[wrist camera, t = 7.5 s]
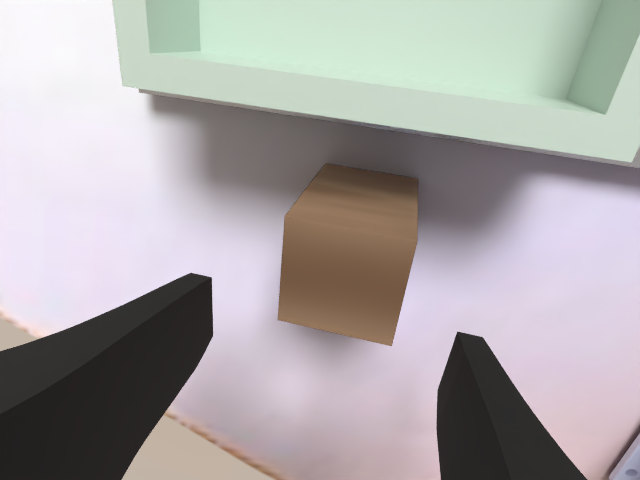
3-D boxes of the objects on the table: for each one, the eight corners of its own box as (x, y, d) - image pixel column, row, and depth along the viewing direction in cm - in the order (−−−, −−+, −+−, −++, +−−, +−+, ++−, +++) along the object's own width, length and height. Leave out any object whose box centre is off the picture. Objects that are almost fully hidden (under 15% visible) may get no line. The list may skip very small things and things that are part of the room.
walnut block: (399, 260, 19) (391, 346, 13) (316, 243, 19) (277, 319, 14) (418, 178, 17) (417, 241, 12) (325, 163, 17) (284, 215, 12)
